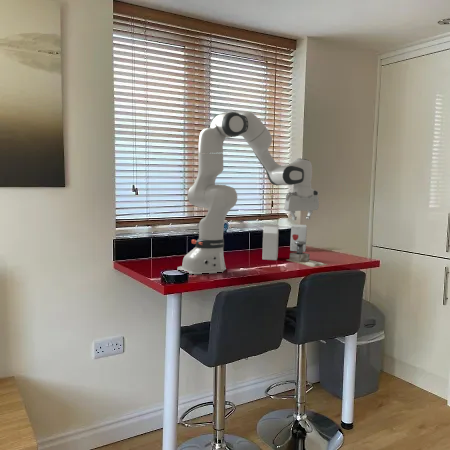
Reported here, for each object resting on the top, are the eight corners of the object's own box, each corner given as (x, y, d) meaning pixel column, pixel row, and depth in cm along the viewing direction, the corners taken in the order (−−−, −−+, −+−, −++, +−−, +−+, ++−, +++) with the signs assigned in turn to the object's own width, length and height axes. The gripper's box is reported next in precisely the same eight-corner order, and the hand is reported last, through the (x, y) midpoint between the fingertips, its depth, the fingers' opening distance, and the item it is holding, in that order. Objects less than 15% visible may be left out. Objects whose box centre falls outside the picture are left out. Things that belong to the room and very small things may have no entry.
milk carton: (276, 263, 226) (277, 225, 224) (262, 262, 228) (263, 224, 226) (277, 260, 233) (278, 224, 231) (263, 259, 235) (264, 223, 233)
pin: (299, 261, 223) (299, 242, 222) (291, 259, 228) (292, 241, 227) (307, 260, 226) (308, 242, 225) (299, 259, 231) (300, 240, 230)
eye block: (311, 269, 212) (312, 259, 211) (285, 262, 228) (285, 252, 227) (328, 267, 218) (328, 257, 218) (301, 260, 234) (301, 251, 233)
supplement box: (289, 251, 263) (290, 225, 262) (290, 248, 272) (291, 224, 270) (305, 252, 262) (306, 226, 260) (305, 249, 270) (307, 224, 269)
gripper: (290, 192, 215) (289, 221, 216) (321, 192, 226) (320, 219, 228) (282, 191, 220) (281, 220, 221) (312, 191, 231) (311, 218, 233)
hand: (301, 219), depth 225 cm, fingers open, 8 cm apart
